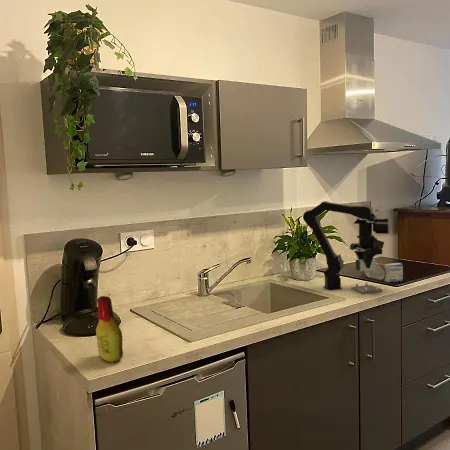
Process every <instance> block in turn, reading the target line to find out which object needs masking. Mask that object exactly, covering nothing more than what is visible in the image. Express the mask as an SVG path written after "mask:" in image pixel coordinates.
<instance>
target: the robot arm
mask: <svg viewBox="0 0 450 450" xmlns="http://www.w3.org/2000/svg"><path fill="white" fill-rule="evenodd" d="M325 211H330V212H334V213H341V214H347V215H350V216H353V217H355V218H357V219H356V220H355V221H354V222H353V224H355V225H358V235H357V236H356V238H357V239H358V242H354V243H351V244H350V245H349V250H350V251H353V252H354V253H355V256H356V257H357V259H361V258H364V260H365V263H366V266H367V268H370V266H371V263H372V260H373V258H374V257H376V256H378V255H383V248H384V244H385V241H382V240H378V238H377V237H375V236H374V235H373V232H374V233H375V235H377V234H378V235H379V234H381V235H382V234H383V235H389V234H390V231H391V226H390V221H389V218H387V217H386V218H378V217H377V216H376V215H375V214H374V213H373V208H372V207H371V206H369V205H366V204H365V205H350V204H343V203H335V202H329V201H327V200H326V201H325V200H324V201H322V202H320V203H319V204H318V205H317V206H315V207H313V208H312V209H309V210H306V211H305V212H303V215H302V220H303V221H304V222H305V224H306V225H307V226H308V227H309V229H311V230H312V232H313V233H314V236H315V238H316V240H317V242H318V243H319V246H320V247H321V249H322V251H323V254H324V256H325V260H326V266H327V269H326V270H325V271H323V275H324V285H323V288H324V289H327V290H329V291H331V290H332V291H333V290H342V288H343V287H342V286H341V285H342V283H341V281H342V280H341V279H342V278H341V276H340V272H341V271H342V270H343V269H344V267H345V265H344V262H345V261H344V260H343V258H342V256H341V253H339V254H338V255H337V253H336V252H335V250H334V249H333V247H332V245H331V243H330V241H329V239H328V238H327V235H326V233H325V231H324V230H323V227H322V225H321V219H320V216H321V215H322V214H323V213H325Z"/></svg>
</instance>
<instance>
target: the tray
mask: <svg viewBox="0 0 450 450" xmlns="http://www.w3.org/2000/svg"><path fill="white" fill-rule="evenodd" d="M350 289H351V290H352V291H355V292H357V293H360V294H361V295H365V294H373V293H381V292H382V293H383V289H382V288H381V287H378V286H377V285H376V286H374V285H373V284H369V283H368V282H364V285H359V283H355V285H354V286H350Z"/></svg>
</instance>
